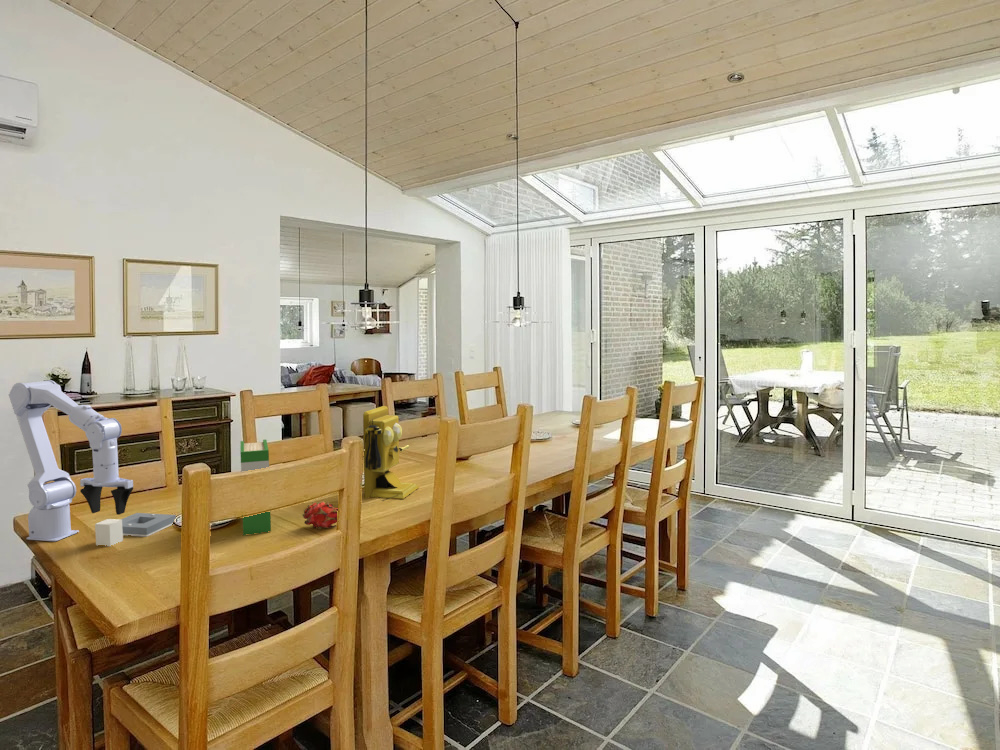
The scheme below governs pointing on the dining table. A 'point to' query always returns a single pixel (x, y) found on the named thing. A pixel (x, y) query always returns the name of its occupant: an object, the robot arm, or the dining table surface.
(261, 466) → the hardback book
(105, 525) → the block
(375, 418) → the vintage telephone
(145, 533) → the outlet box
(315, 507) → the dragon fruit
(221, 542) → the dining table surface
